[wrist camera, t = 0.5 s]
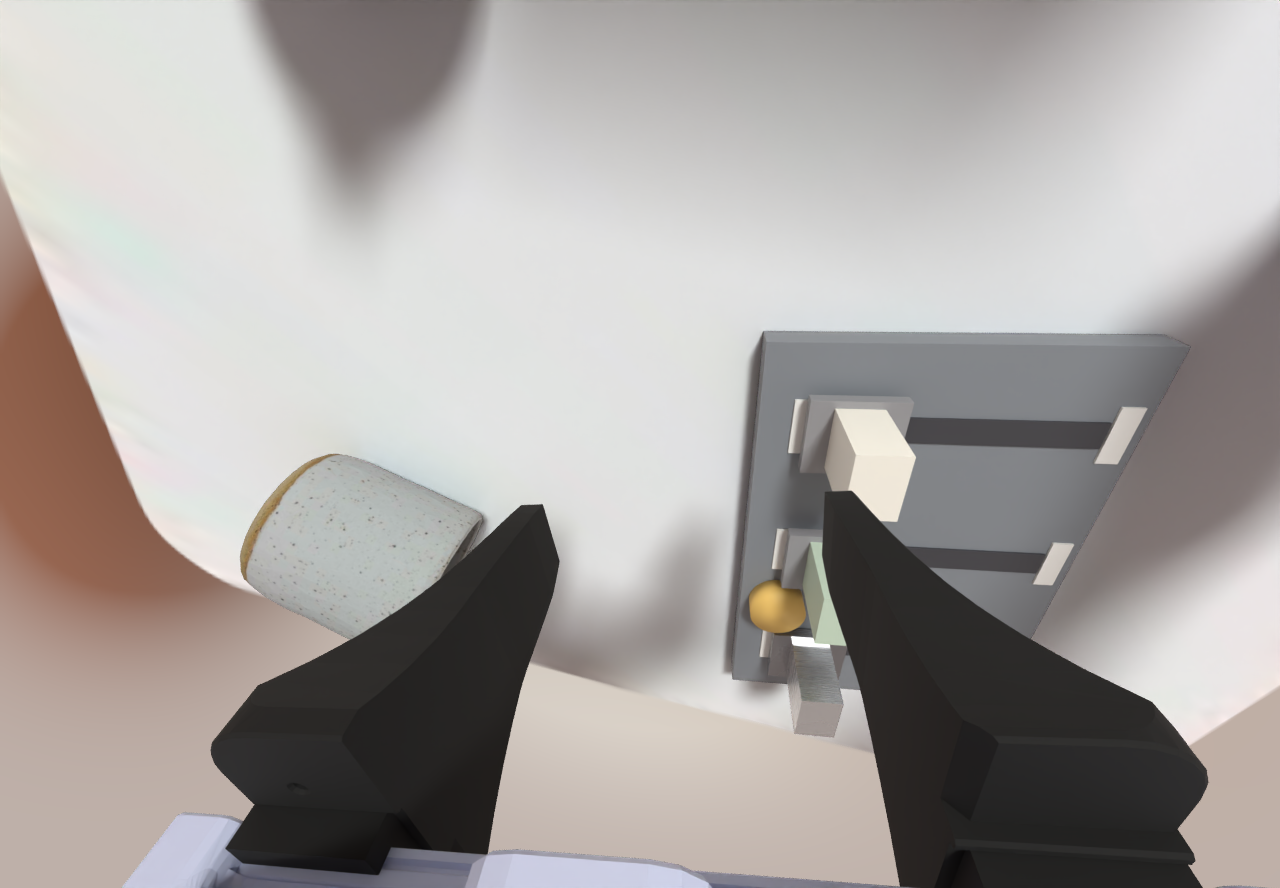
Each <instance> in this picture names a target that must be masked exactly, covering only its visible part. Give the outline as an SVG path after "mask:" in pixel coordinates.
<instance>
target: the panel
mask: <svg viewBox="0 0 1280 888" xmlns="http://www.w3.org/2000/svg"><path fill="white" fill-rule="evenodd" d="M1190 348H1191V346H1189V345H1186V344H1184V343H1182V342H1180V341H1178V340H1175V339H1173V338H1171V337H1169V336H1167V335H1153V334H1038V333H923V332H808V331H764V333H763V344H762V354H761V364H760V374H759V385H758V395H757V405H756V415H755V426H754V436H753V446H752V457H751V467H750V477H749V487H748V498H747V508H746V518H745V529H744V539H743V549H742V559H741V570H740V580H739V590H738V600H737V611H736V621H735V631H734V642H733V652H732V679H734V680H746V681H758V682H770V683H782V684H787V677H783V676H771V675H768V672H767V663H768V657H769V650H770V644H771V637H772V633H784V632H789V631H792V630H794V629H808V630H812V629H811V625H810V620H809V615H808V610H807V605H806V600H805V595H804V590H803V589H788V588H781V581H780V579H781V572H782V566H783V560H784V553H785V547H786V540H787V534H788V528H798V529H818V530H823V520H824V499H825V492H829V491H832V489H831V486H830V483H829V480H828V477H827V474H824V473H800V471H799V468H798V462H799V456H800V449H801V443H802V436H803V430H804V423H805V417H806V410H807V404H808V398H809V395H847V396H892V397H910V398H911V399H912V401H913V402H914V406H913V410H912V413H911V417H910V421H909V424H908V428H907V432H906V435H905V440H906V442H907V444H908V445H909V447H910V448H911V450H912V451H913V453H914V455H915V456H916V459H915V463H914V466H913V469H912V473H911V476H910V480H909V483H908V486H907V490H906V493H905V497H904V500H903V503H902V507H901V510H900V514H899V517H898V521H897V522H890V521H881V522H882V523H883V524H884V526H885V527H886V528H887V529H888V530H889V531H890V532H891V533H892V534H893V535H894V536H895V537H896V538H898V539H899V540H900V541H901V542H902V543H903V544H904V545H905V546H906V547H907V548H908V549H909V550H910V551H911V552H912V553H913V554H914V555H915V556H916V557H918V558H919V559H920V560H921V561H922V562H923V563H924V564H925V565H927V566H928V567H929V568H930V569H931V570H932V571H934V572H935V573H936V574H937V575H938V576H939V577H941V578H942V579H943V580H944V581H946V582H947V583H948V584H949V585H951V586H952V587H953V588H955V589H956V590H957V591H959V592H960V593H961V594H963V595H964V596H965V597H967V598H968V599H970V600H971V601H972V602H974V603H975V604H976V605H978V606H979V607H981V608H982V609H984V610H985V611H987V612H988V613H990V614H991V615H993V616H994V617H996V618H997V619H999V620H1000V621H1002V622H1004V623H1005V624H1007V625H1008V626H1010V627H1011V628H1013V629H1015V630H1016V631H1018V632H1019V633H1021V634H1022V635H1024V636H1026V637H1028V638H1029V639H1031V638H1032V636H1033V634H1034V632H1035V630H1036V629H1037V627H1038V625H1039V623H1040V621H1041V619H1042V618H1043V616H1044V614H1045V612H1046V610H1047V609H1048V607H1049V605H1050V603H1051V601H1052V599H1053V598H1054V596H1055V594H1056V592H1057V590H1058V588H1059V587H1060V585H1061V583H1062V581H1063V579H1064V578H1065V576H1066V574H1067V572H1068V570H1069V568H1070V567H1071V565H1072V563H1073V561H1074V559H1075V558H1076V556H1077V554H1078V552H1079V550H1080V548H1081V547H1082V545H1083V543H1084V541H1085V539H1086V537H1087V536H1088V534H1089V532H1090V530H1091V528H1092V527H1093V525H1094V523H1095V521H1096V519H1097V517H1098V516H1099V514H1100V512H1101V510H1102V508H1103V506H1104V505H1105V503H1106V501H1107V499H1108V497H1109V496H1110V494H1111V492H1112V490H1113V488H1114V486H1115V485H1116V483H1117V481H1118V479H1119V477H1120V476H1121V474H1122V472H1123V470H1124V468H1125V466H1126V465H1127V463H1128V461H1129V459H1130V457H1131V455H1132V454H1133V452H1134V450H1135V448H1136V446H1137V445H1138V443H1139V441H1140V439H1141V437H1142V435H1143V434H1144V432H1145V430H1146V428H1147V426H1148V424H1149V423H1150V421H1151V419H1152V417H1153V415H1154V414H1155V412H1156V410H1157V408H1158V406H1159V404H1160V403H1161V401H1162V399H1163V397H1164V395H1165V394H1166V392H1167V390H1168V388H1169V386H1170V384H1171V383H1172V381H1173V379H1174V377H1175V375H1176V373H1177V372H1178V370H1179V368H1180V366H1181V364H1182V363H1183V361H1184V359H1185V357H1186V355H1187V353H1188V352H1189V350H1190ZM838 683H839V687H840V688H842V689H854V690H860V687H859V684H858V680H857V676H856V673H855V670H854V667H853V664H852V661H851V658H850V655H849V652H848V649H847V651H846V654H845V658H844V662H843V665H842V669H841V673H840V676H839V680H838Z"/></svg>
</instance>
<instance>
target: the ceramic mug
mask: <svg viewBox="0 0 1280 888" xmlns="http://www.w3.org/2000/svg"><path fill="white" fill-rule="evenodd" d="M481 523H482V515H481V514H480V513H478V512H477V511H475V510H473V509H471V508H468V507H466V506H464V505H461V504H459V503H457V502H455V501H452V500H450V499H448V498H446V497H444V496H442V495H439V494H437V493H435V492H433V491H431V490H429V489H427V488H424V487H422V486H420V485H417V484H415V483H412V482H410V481H407V480H405V479H403V478H401V477H399V476H397V475H395V474H393V473H391V472H389V471H386V470H384V469H382V468H380V467H378V466H375V465H373V464H371V463H369V462H367V461H364V460H361V459H358V458H354V457H351V456H347V455H340V454H328V455H325V456H322V457H319V458H316V459H313V460H311V461H309V462H307V463H305V464H304V465H302V466H301V467H300V468H298V469H297V470H296V471H294V472H293V473H292V474H291V475H290V476H289V477H288V478H286V479H285V480H284V481H283V482H282V483H281V484H280V485H279V486H278V488H277V489H276V490H275V491H274V492H273V493H272V495H271V496H270V497H269V498H268V499H267V501H266V502H265V503H264V505H263V506H262V508H261V509H260V511H259V512H258V514H257V516H256V517H255V519H254V521H253V522H252V524H251V526H250V528H249V530H248V532H247V534H246V537H245V540H244V543H243V546H242V550H241V554H240V562H241V572H242V575H243V578H244V579H245V580H246V581H247V582H248V583H249V584H250V585H251V586H252V587H253V588H254V589H256V590H257V591H258V592H260V593H261V594H262V595H264V596H265V597H266V598H268V599H270V600H271V601H273V602H275V603H277V604H278V605H280V606H282V607H284V608H286V609H288V610H290V611H292V612H294V613H297V614H300V615H302V616H304V617H306V618H308V619H310V620H312V621H314V622H316V623H318V624H320V625H322V626H324V627H326V628H328V629H330V630H332V631H334V632H336V633H337V634H339V635H341V636H343V637H345V638H347V639H350V640H351V639H352V638H354V637H356V636H358V635H359V634H361V633H363V632H364V631H366V630H368V629H369V628H371V627H372V626H374V625H375V624H377V623H379V622H380V621H382V620H383V619H385V618H386V617H388V616H390V615H391V614H393V613H394V612H396V611H397V610H399V609H400V608H402V607H403V606H405V605H406V604H407V603H409V602H410V601H412V600H413V599H414V598H416V597H417V596H418V595H420V594H421V593H423V592H424V591H425V590H426V589H428V588H429V587H430V586H432V585H433V584H434V583H435V582H437V581H438V580H439V579H440V578H441V577H443V576H444V575H445V574H446V573H447V572H448V571H450V570H451V569H452V568H453V567H454V566H455V565H457V564H458V563H459V562H460V561H461V560H462V559H464V558H465V557H466V555H467V553H468V551H469V549H470V547H471V545H472V543H473V542H474V540H475V537H476V535H477V533H478V530H479V528H480V525H481Z"/></svg>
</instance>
